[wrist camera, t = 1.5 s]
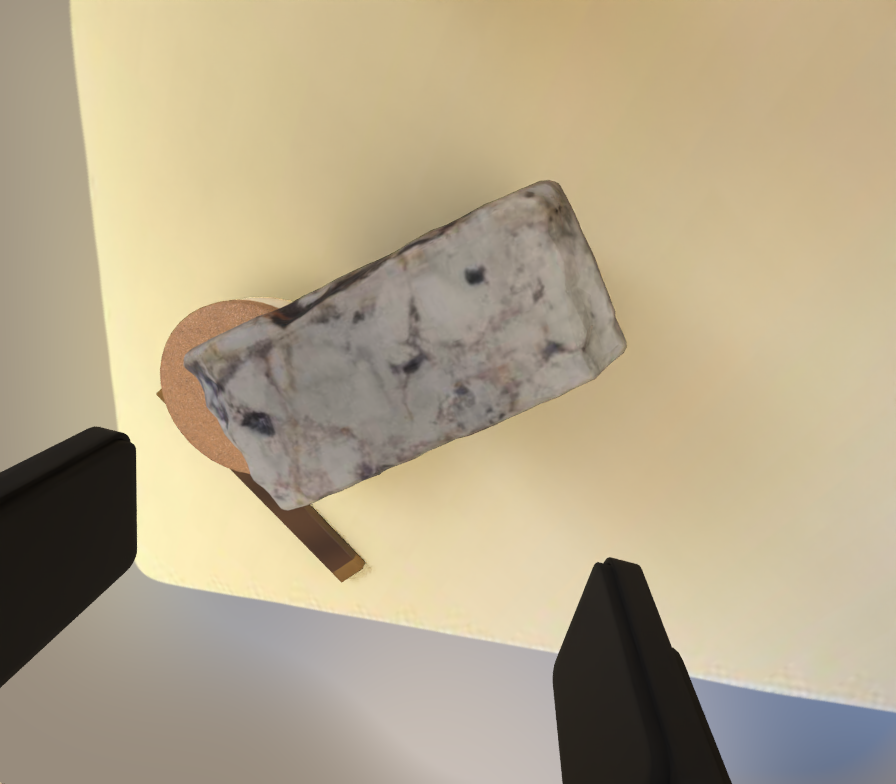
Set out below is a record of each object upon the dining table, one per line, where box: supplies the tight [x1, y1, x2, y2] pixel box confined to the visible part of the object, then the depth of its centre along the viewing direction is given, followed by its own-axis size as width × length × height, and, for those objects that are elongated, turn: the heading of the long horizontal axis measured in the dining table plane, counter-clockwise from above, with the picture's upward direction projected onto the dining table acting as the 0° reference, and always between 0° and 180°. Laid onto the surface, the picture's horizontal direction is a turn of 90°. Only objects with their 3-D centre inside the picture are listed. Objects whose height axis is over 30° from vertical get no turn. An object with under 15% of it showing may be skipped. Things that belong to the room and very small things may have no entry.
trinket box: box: [160, 297, 293, 474], centre depth 31 cm, size 11×11×9 cm
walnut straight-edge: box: [156, 389, 365, 582], centre depth 39 cm, size 21×2×1 cm, turn 40°
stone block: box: [183, 180, 627, 510], centre depth 23 cm, size 13×7×20 cm, turn 122°
